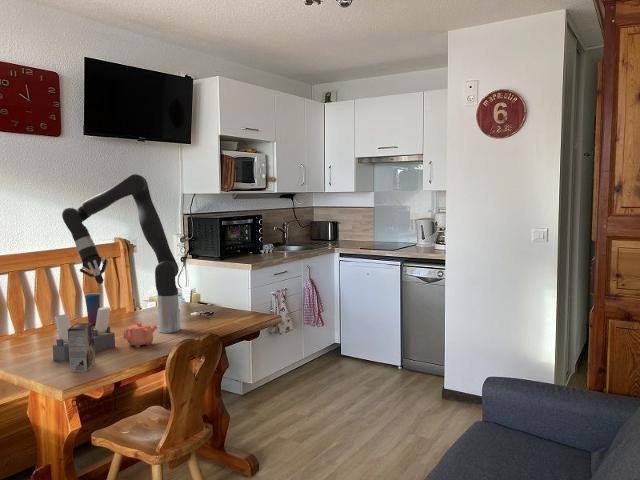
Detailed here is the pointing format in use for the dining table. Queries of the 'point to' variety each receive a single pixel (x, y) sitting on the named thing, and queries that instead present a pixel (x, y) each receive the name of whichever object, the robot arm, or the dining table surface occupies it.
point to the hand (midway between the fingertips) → (101, 283)
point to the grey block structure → (100, 343)
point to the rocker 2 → (102, 319)
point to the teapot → (139, 334)
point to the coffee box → (81, 347)
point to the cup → (92, 306)
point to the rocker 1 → (63, 326)
